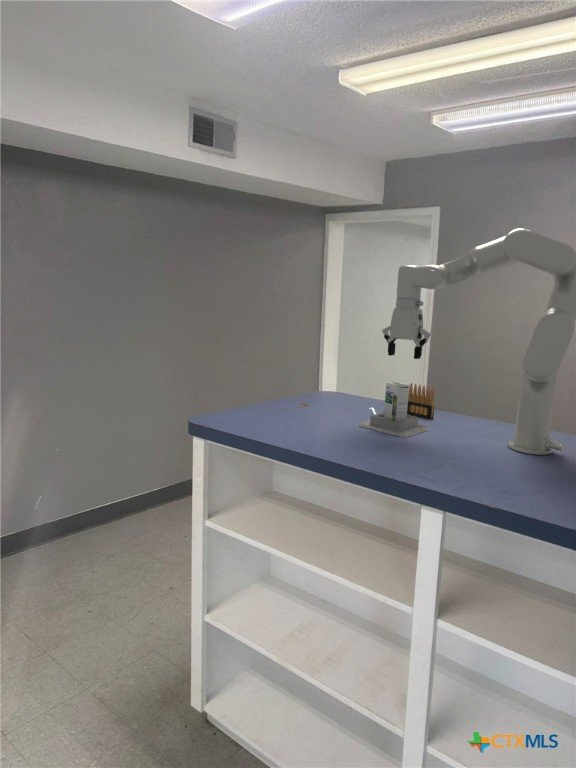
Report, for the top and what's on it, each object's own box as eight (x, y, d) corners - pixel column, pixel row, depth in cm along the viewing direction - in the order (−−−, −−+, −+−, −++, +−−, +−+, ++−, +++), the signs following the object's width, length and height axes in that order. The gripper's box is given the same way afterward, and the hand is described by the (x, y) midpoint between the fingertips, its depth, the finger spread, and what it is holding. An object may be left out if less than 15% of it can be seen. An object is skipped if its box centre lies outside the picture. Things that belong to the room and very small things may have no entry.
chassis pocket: (428, 429, 179) (429, 418, 178) (405, 438, 168) (406, 425, 167) (383, 419, 191) (384, 408, 190) (358, 426, 180) (359, 414, 179)
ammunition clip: (433, 419, 194) (436, 386, 192) (430, 419, 193) (433, 387, 191) (408, 413, 202) (410, 382, 199) (405, 414, 200) (407, 382, 198)
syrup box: (382, 423, 180) (385, 381, 178) (396, 422, 183) (399, 380, 180) (392, 428, 175) (395, 384, 173) (406, 426, 178) (410, 384, 175)
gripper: (437, 305, 169) (433, 359, 172) (391, 303, 180) (387, 353, 183) (426, 305, 163) (421, 361, 167) (378, 303, 175) (375, 354, 178)
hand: (404, 356), depth 175 cm, fingers open, 9 cm apart
